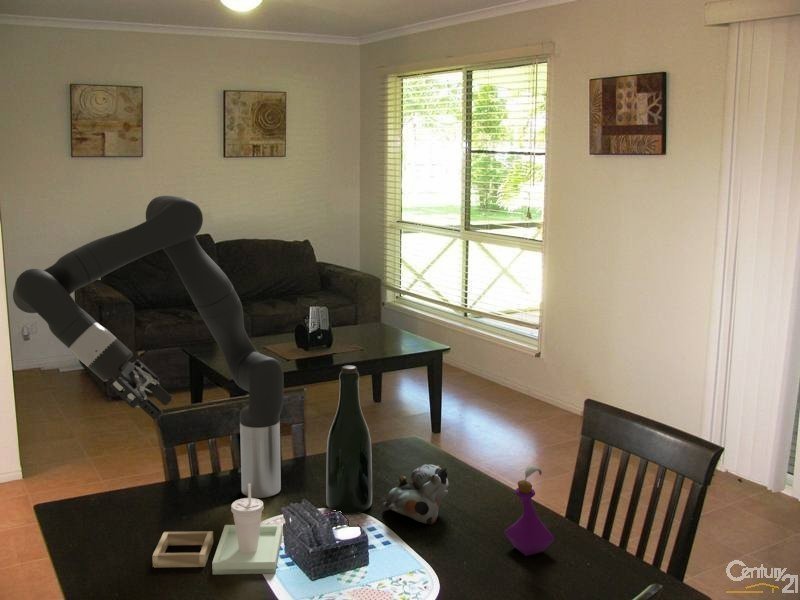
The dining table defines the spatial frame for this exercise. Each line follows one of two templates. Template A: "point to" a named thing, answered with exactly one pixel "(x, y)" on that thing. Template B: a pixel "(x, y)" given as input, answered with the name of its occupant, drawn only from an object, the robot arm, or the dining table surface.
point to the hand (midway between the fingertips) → (164, 408)
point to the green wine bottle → (349, 451)
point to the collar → (183, 558)
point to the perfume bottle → (528, 522)
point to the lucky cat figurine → (420, 494)
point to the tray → (252, 563)
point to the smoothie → (247, 522)
